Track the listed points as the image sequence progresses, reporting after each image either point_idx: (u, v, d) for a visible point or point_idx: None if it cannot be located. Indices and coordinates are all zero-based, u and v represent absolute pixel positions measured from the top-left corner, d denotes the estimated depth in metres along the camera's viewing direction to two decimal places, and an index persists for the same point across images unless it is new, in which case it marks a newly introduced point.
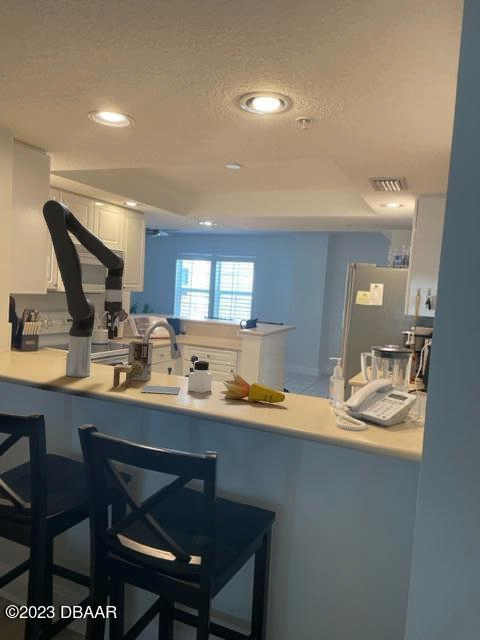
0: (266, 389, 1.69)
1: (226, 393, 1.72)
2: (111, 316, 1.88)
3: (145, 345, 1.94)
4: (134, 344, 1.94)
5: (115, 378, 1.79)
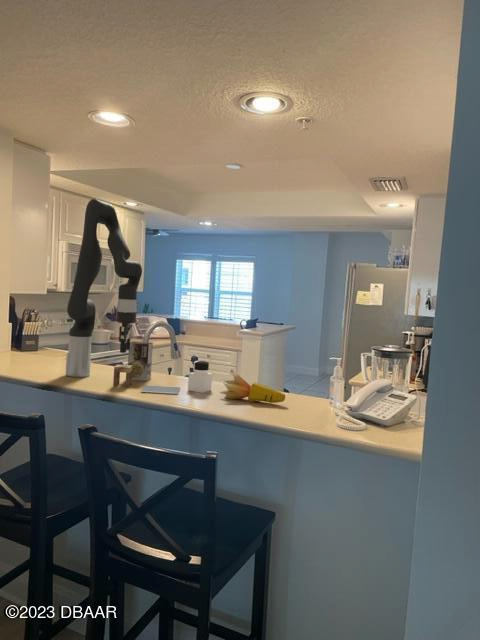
0: (266, 389, 1.69)
1: (226, 393, 1.72)
2: (124, 328, 1.74)
3: (145, 345, 1.94)
4: (134, 344, 1.94)
5: (115, 378, 1.79)
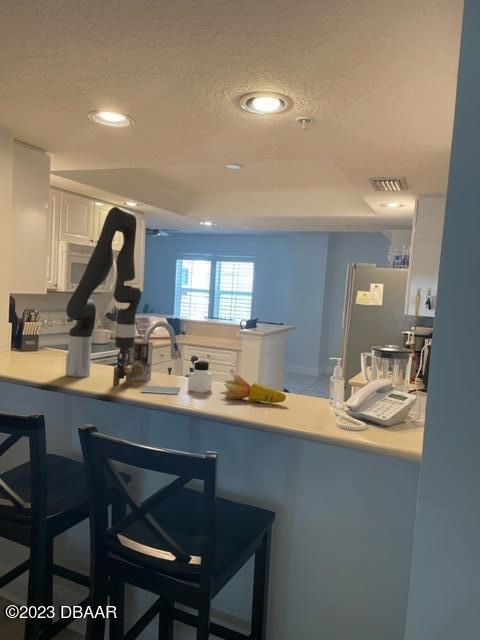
0: (267, 389, 1.69)
1: (226, 393, 1.72)
2: (122, 355, 1.75)
3: (145, 345, 1.94)
4: (134, 344, 1.94)
5: (115, 378, 1.79)
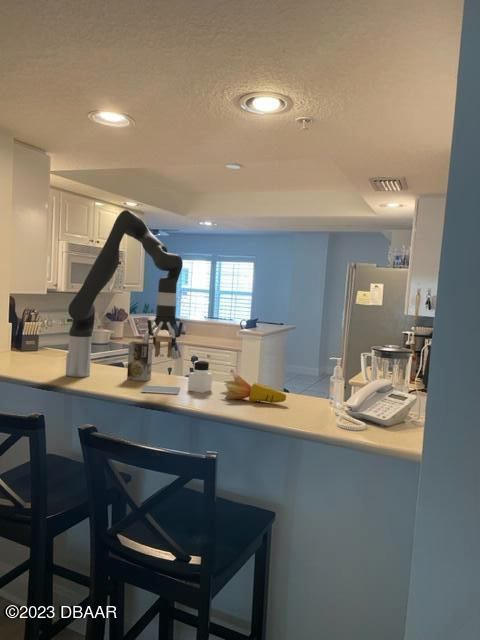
0: (267, 389, 1.69)
1: (227, 394, 1.71)
2: (147, 321, 1.76)
3: (145, 345, 1.94)
4: (134, 344, 1.94)
5: None
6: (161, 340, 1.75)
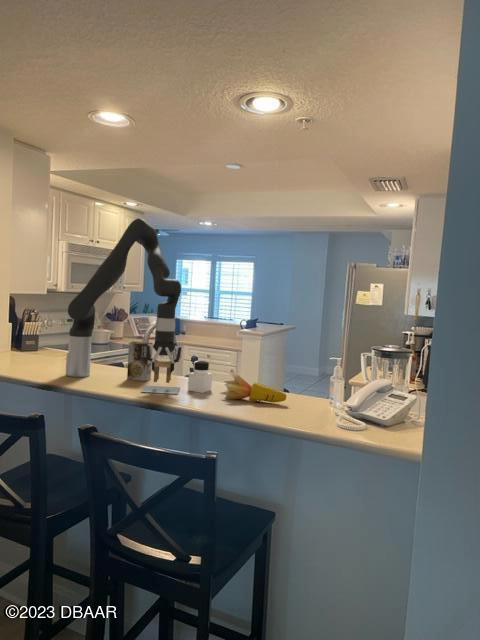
0: (267, 389, 1.69)
1: (227, 394, 1.71)
2: None
3: (145, 345, 1.94)
4: (134, 344, 1.94)
5: None
6: (160, 365, 1.75)
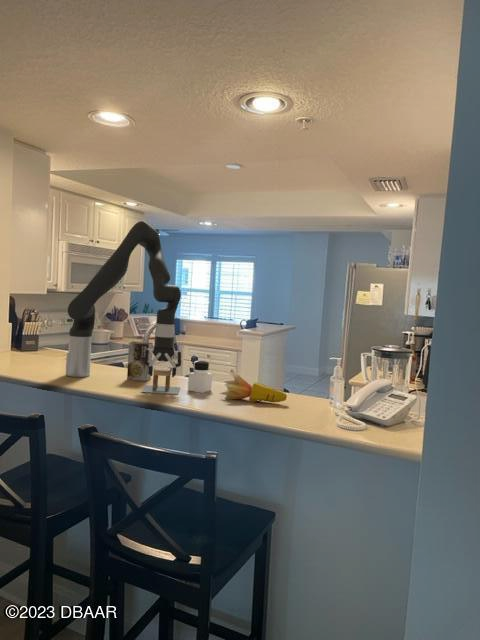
0: (268, 389, 1.69)
1: (227, 394, 1.71)
2: None
3: (145, 345, 1.94)
4: (134, 344, 1.94)
5: None
6: (159, 374, 1.76)
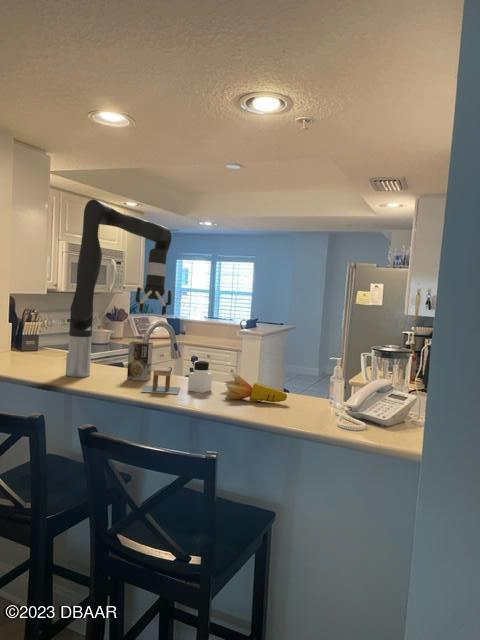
0: (268, 389, 1.70)
1: (227, 394, 1.71)
2: None
3: (145, 345, 1.94)
4: (134, 344, 1.94)
5: None
6: (159, 374, 1.76)
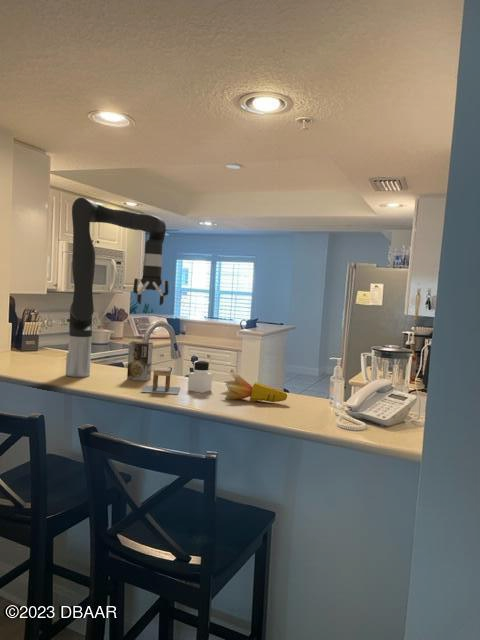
0: (268, 388, 1.70)
1: (227, 394, 1.70)
2: (134, 280, 1.87)
3: (145, 345, 1.94)
4: (134, 344, 1.94)
5: None
6: (159, 374, 1.76)
